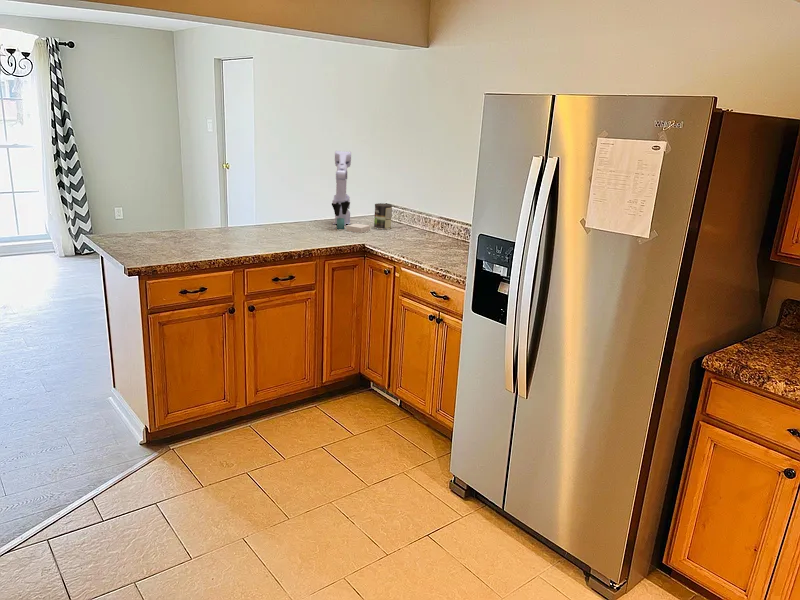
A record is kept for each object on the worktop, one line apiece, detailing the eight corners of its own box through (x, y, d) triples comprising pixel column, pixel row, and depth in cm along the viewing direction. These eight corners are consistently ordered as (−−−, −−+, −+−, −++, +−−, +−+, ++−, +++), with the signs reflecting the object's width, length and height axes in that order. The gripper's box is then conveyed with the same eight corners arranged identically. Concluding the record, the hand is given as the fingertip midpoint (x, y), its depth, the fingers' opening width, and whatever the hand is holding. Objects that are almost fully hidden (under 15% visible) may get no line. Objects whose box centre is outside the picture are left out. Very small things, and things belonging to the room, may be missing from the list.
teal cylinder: (339, 227, 359) (339, 217, 357) (345, 228, 357) (345, 218, 355) (334, 228, 355) (335, 218, 353) (341, 229, 353) (341, 219, 351)
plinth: (355, 228, 359) (355, 223, 358) (370, 230, 355) (370, 225, 354) (346, 230, 350) (346, 225, 350) (361, 233, 346) (361, 227, 345)
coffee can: (376, 229, 359) (377, 205, 355) (372, 226, 369) (372, 203, 364) (393, 229, 362) (394, 205, 358) (388, 226, 372) (389, 203, 368)
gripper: (340, 193, 341) (339, 217, 345) (353, 191, 354) (353, 214, 358) (329, 191, 345) (329, 215, 348) (343, 189, 357) (343, 213, 361)
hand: (340, 215), depth 353 cm, fingers open, 7 cm apart
